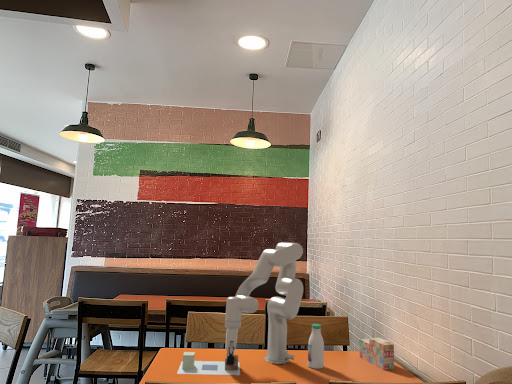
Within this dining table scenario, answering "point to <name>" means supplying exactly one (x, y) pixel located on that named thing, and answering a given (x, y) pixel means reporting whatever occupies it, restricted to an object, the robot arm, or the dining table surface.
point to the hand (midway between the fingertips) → (230, 361)
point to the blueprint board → (209, 368)
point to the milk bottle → (316, 348)
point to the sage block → (188, 360)
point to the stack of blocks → (378, 352)
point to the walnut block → (232, 367)
